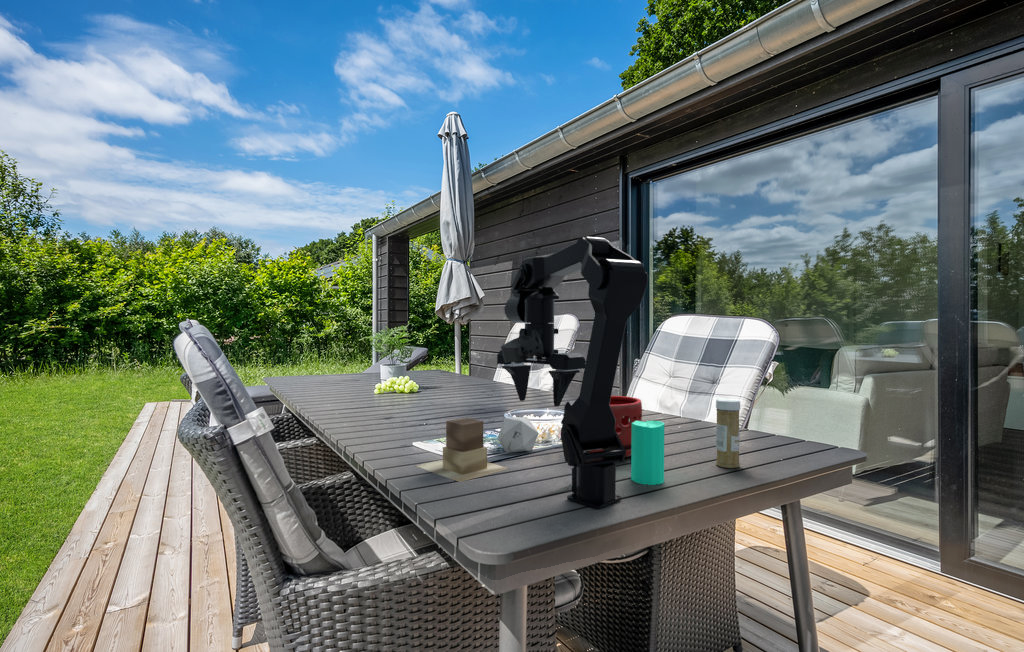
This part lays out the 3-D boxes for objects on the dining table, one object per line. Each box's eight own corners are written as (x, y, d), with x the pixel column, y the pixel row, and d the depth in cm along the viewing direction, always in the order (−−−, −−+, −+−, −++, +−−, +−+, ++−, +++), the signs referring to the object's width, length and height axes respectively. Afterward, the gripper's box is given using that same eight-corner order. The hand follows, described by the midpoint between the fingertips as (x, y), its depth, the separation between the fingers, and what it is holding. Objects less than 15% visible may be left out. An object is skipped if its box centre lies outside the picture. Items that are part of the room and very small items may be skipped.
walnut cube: (483, 447, 101) (483, 421, 101) (462, 452, 98) (462, 424, 97) (466, 443, 105) (466, 417, 104) (446, 447, 101) (446, 421, 101)
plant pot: (607, 443, 126) (608, 393, 126) (654, 454, 116) (654, 399, 116) (568, 452, 118) (568, 398, 118) (614, 464, 108) (614, 405, 107)
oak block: (487, 468, 101) (487, 447, 101) (462, 474, 97) (462, 452, 97) (467, 462, 105) (467, 442, 105) (442, 468, 101) (442, 447, 101)
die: (489, 455, 117) (495, 426, 111) (505, 430, 124) (512, 401, 118) (523, 471, 115) (531, 442, 109) (537, 444, 122) (546, 416, 116)
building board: (509, 473, 101) (509, 468, 101) (459, 487, 93) (459, 481, 93) (463, 459, 111) (463, 454, 111) (414, 470, 103) (414, 465, 103)
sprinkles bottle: (742, 469, 105) (743, 401, 105) (719, 468, 105) (719, 400, 105) (735, 463, 109) (736, 397, 109) (712, 462, 110) (713, 397, 110)
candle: (668, 478, 99) (668, 413, 99) (659, 486, 94) (660, 419, 93) (636, 473, 102) (637, 410, 102) (626, 481, 97) (626, 415, 96)
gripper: (476, 323, 104) (476, 402, 105) (546, 324, 91) (546, 415, 91) (517, 322, 112) (516, 396, 112) (587, 323, 99) (586, 407, 99)
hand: (539, 403), depth 104 cm, fingers open, 9 cm apart
